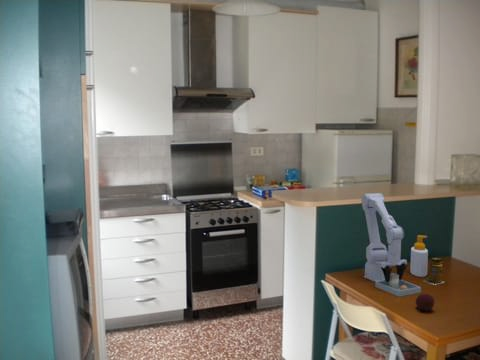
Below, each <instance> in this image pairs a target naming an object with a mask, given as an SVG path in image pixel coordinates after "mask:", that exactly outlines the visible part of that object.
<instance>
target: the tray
mask: <svg viewBox="0 0 480 360" xmlns="http://www.w3.org/2000/svg"><path fill="white" fill-rule="evenodd" d="M374 283H375V285H374V287H375V288H377V289H379V290H381V291H384V292H386V293H388V294H390V295H393V296H396V297H399V298H400V297H404V296H410V295H415V294H420V293H421V292H422V287H421V286H419V285H416V284H414V283H411V282H409V281H406V280H403V279H401V280H399V285H398V289H394V288H391V287H389V282H387V281H385V280H383V281H377V282H375V281H374ZM403 285H405V286H407V288H408V289H405V290H401V289H400V288H401V286H403ZM421 294H422V293H421Z"/></svg>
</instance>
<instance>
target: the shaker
mask: <svg viewBox="0 0 480 360" xmlns="http://www.w3.org/2000/svg"><path fill="white" fill-rule="evenodd" d="M398 285H399V274H397V272H396V273H393V272H391V274H390V281H389V287H391V288H394V289H398Z"/></svg>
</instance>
